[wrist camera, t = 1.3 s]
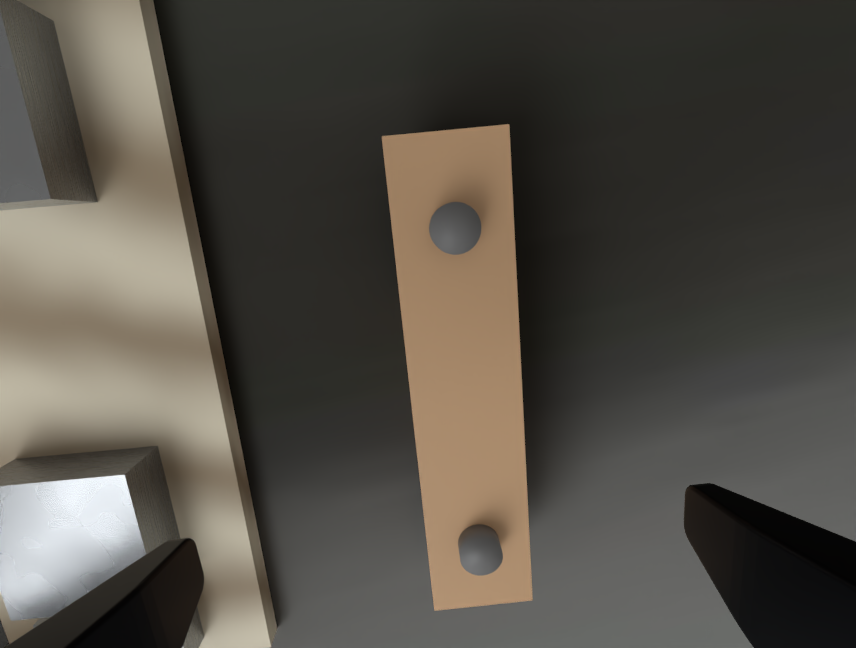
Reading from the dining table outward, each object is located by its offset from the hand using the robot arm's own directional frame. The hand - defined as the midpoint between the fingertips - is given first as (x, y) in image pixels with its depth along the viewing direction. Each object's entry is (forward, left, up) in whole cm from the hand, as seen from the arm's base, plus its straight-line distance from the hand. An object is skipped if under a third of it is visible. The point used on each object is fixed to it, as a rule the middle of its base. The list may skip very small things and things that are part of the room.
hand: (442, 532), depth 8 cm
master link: (-1, -1, -12) cm, 12 cm away
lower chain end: (-8, +15, -11) cm, 20 cm away
